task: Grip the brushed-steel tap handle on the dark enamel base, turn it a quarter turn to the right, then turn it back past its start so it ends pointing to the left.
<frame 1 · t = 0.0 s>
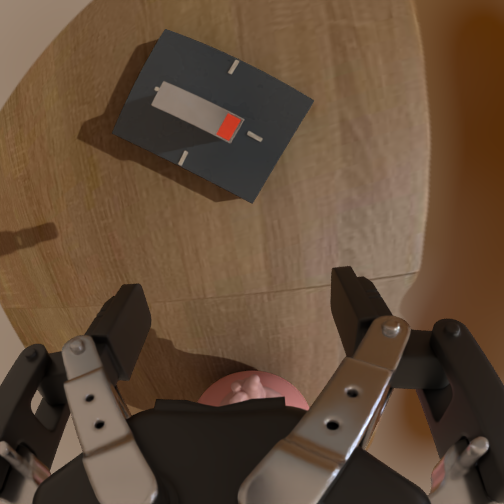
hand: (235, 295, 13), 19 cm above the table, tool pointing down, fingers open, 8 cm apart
balloon: (253, 373, 41), on the table
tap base: (211, 112, 27), on the table
tap handle: (202, 111, 22), point 5 cm above the table, hinge at 0.0°
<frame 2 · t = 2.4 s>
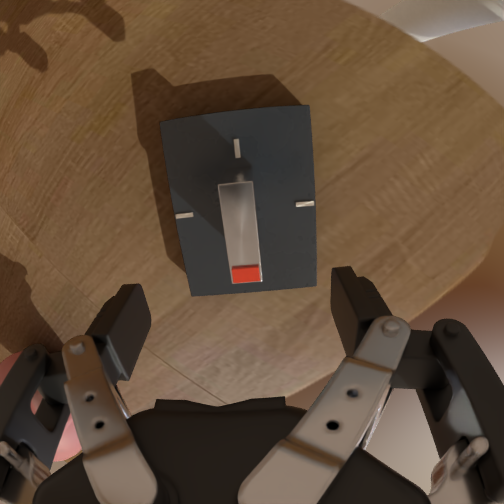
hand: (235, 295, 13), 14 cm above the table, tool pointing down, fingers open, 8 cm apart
balloon: (69, 364, 35), on the table
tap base: (244, 199, 26), on the table
tap handle: (242, 221, 21), point 5 cm above the table, hinge at 0.0°
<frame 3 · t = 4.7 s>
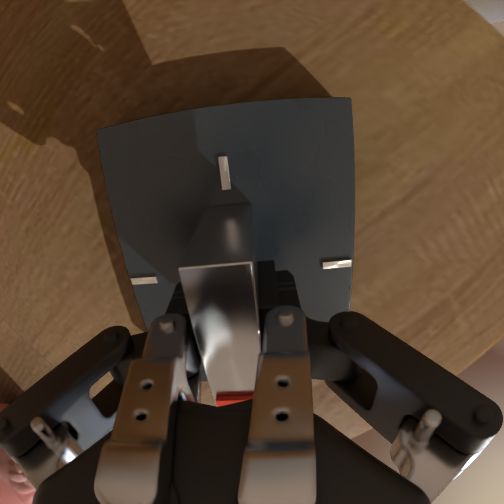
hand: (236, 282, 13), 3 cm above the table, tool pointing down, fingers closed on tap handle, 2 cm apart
balloon: (40, 416, 26), on the table
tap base: (239, 249, 17), on the table
tap handle: (234, 308, 12), point 5 cm above the table, hinge at 0.0°, touching gripper
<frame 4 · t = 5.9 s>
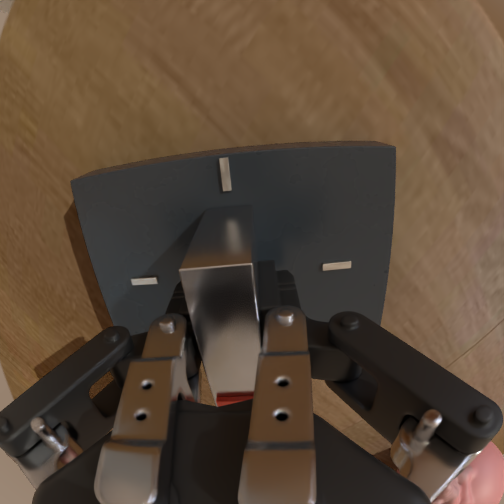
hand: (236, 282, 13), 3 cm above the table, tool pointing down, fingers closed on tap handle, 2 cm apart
balloon: (428, 438, 27), on the table
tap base: (239, 250, 17), on the table
tap handle: (235, 309, 12), point 5 cm above the table, hinge at -89.6°, touching gripper
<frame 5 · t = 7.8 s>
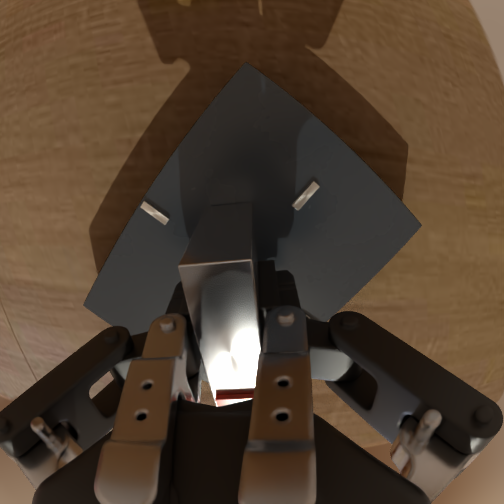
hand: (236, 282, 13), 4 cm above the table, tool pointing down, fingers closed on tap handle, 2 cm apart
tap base: (240, 248, 17), on the table
tap handle: (234, 307, 12), point 5 cm above the table, hinge at 44.5°, touching gripper
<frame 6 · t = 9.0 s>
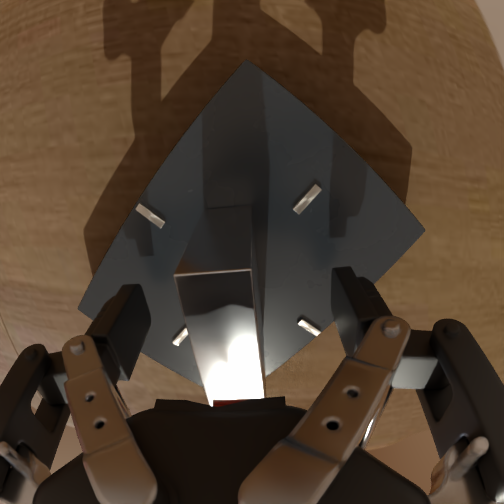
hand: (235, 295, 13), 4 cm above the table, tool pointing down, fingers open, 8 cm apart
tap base: (238, 252, 16), on the table
tap handle: (232, 314, 11), point 5 cm above the table, hinge at 44.4°
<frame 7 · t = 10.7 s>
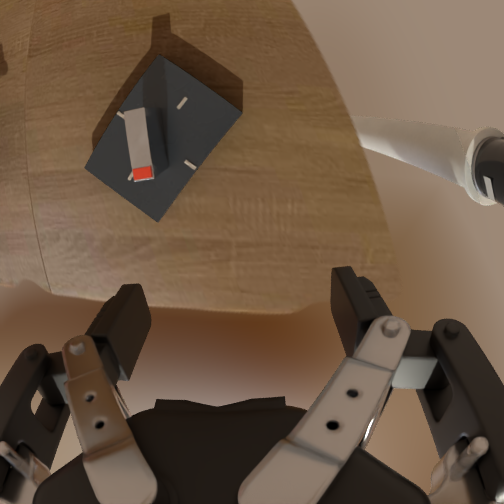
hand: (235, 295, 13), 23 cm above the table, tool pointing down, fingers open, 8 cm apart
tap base: (161, 137, 31), on the table
tap handle: (147, 141, 27), point 5 cm above the table, hinge at 44.4°
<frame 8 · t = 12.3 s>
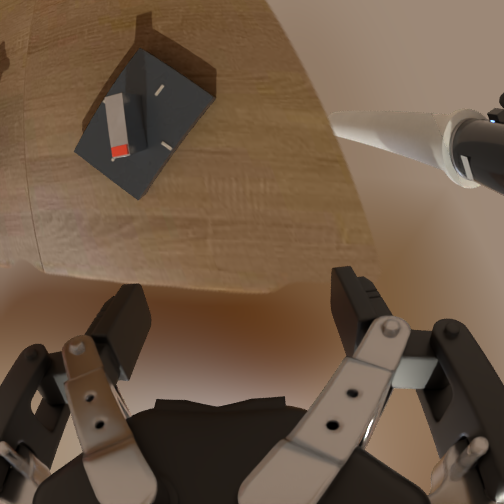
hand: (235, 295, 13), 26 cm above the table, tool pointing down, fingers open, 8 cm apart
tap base: (143, 122, 33), on the table
tap handle: (126, 124, 28), point 5 cm above the table, hinge at 44.4°
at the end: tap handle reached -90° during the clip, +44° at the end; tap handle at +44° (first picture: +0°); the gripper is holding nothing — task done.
